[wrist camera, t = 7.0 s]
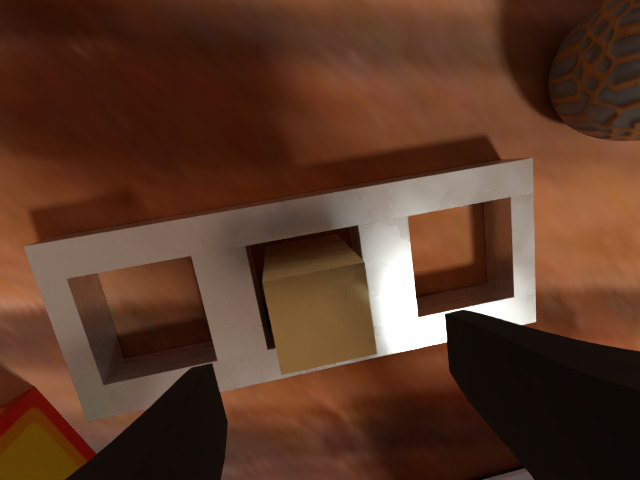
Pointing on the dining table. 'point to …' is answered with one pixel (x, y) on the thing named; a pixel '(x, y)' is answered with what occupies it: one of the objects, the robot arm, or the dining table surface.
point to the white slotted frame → (243, 288)
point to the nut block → (317, 303)
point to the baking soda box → (38, 441)
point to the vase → (600, 73)
